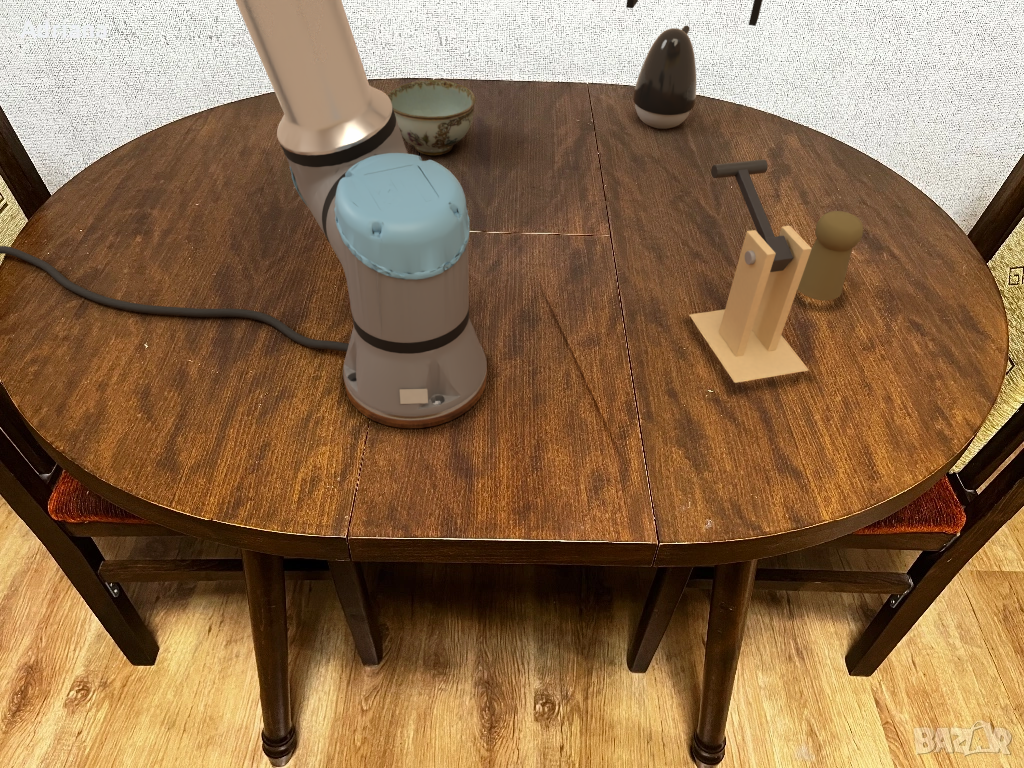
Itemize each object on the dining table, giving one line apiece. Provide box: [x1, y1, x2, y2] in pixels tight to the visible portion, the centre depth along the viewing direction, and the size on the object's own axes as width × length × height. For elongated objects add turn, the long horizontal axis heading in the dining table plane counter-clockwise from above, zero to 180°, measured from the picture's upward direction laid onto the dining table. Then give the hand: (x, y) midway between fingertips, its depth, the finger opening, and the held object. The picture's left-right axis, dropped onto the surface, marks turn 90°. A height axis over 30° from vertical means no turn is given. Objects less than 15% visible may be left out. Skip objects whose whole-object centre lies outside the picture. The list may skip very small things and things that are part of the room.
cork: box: [797, 210, 864, 301], centre depth 92 cm, size 6×6×11 cm
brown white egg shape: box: [632, 25, 697, 130], centre depth 125 cm, size 10×10×15 cm
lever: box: [710, 158, 793, 272], centre depth 81 cm, size 13×6×2 cm, turn 14°
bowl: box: [386, 79, 477, 156], centre depth 119 cm, size 14×13×8 cm
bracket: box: [688, 225, 812, 384], centre depth 83 cm, size 12×9×15 cm
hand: (691, 13), depth 85 cm, fingers open, 13 cm apart
